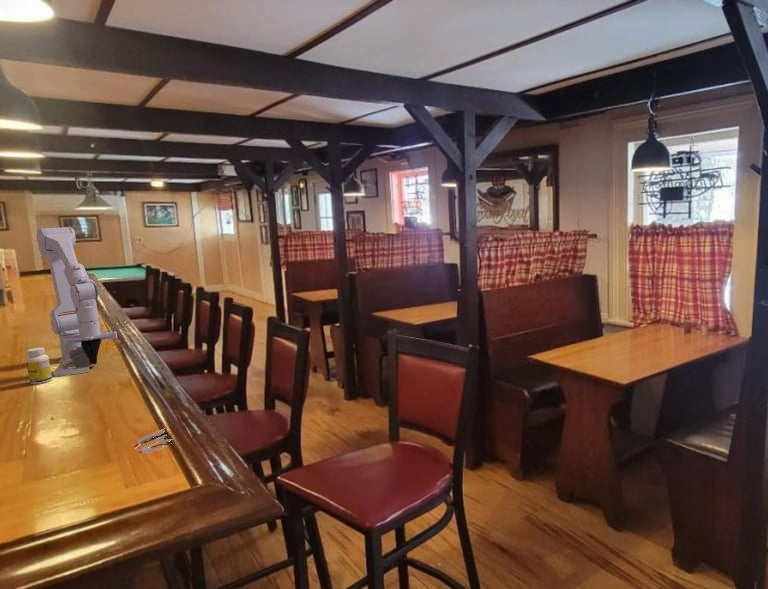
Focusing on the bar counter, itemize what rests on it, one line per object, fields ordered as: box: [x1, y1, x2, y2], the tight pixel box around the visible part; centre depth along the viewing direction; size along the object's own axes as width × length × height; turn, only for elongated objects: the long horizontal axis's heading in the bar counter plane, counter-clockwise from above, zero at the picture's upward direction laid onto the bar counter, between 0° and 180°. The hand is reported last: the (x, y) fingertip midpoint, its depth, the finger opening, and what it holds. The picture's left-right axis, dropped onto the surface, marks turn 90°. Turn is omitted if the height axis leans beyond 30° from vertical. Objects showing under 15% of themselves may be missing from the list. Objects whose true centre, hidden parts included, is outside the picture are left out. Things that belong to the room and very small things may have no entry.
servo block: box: [69, 346, 93, 368], centre depth 159 cm, size 6×4×7 cm, turn 21°
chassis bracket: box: [53, 360, 90, 378], centre depth 159 cm, size 13×9×2 cm
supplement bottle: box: [25, 346, 53, 385], centre depth 147 cm, size 5×5×10 cm
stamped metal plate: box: [134, 427, 173, 455], centre depth 101 cm, size 8×7×2 cm
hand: (94, 363), depth 161 cm, fingers closed
